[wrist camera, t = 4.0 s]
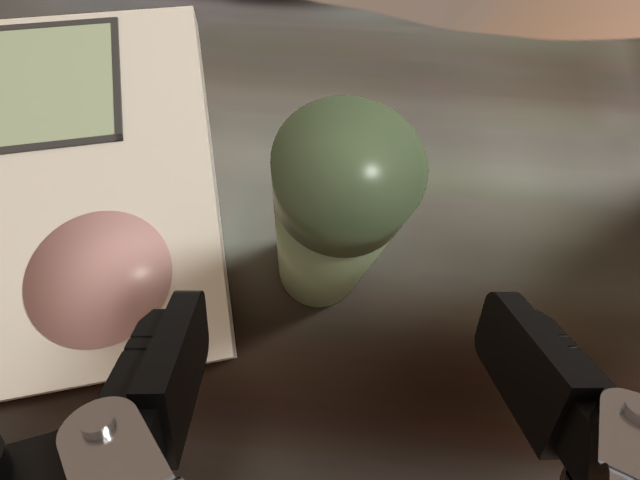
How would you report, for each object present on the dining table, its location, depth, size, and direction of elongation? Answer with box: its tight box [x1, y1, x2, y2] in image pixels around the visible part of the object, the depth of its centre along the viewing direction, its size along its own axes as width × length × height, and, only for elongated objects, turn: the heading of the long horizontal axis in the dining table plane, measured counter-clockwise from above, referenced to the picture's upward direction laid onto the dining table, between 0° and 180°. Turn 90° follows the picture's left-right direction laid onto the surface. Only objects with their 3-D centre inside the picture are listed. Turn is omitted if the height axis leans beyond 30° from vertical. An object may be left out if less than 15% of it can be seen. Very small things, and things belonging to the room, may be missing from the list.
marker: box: [270, 95, 429, 307], centre depth 17 cm, size 4×4×12 cm
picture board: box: [0, 6, 237, 402], centre depth 22 cm, size 14×22×2 cm, turn 11°
